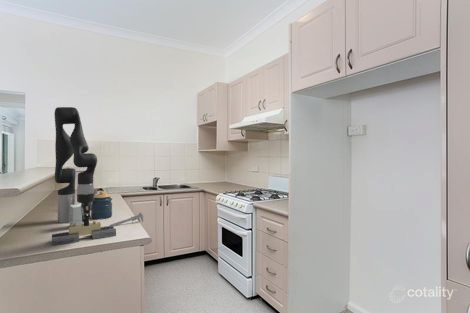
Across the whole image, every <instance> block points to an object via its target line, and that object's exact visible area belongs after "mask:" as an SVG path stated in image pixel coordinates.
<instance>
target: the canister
mask: <svg viewBox="0 0 470 313" xmlns="http://www.w3.org/2000/svg"><path fill="white" fill-rule="evenodd" d="M112 200H113V198H112V195H111V194H109V193H106V192H103V191H99V193H97V194H95V195H94V201H92V204H91V210H90V218H91V219H92V220H104V219H109V218H112V216H113V202H112Z"/></svg>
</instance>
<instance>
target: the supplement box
mask: <svg viewBox="0 0 470 313" xmlns="http://www.w3.org/2000/svg"><path fill="white" fill-rule="evenodd" d="M73 224H77V225H80V224H84V222H82V214H81V203H80V204H79V203H78V204H75V205H70V222H69V226H72V225H73Z"/></svg>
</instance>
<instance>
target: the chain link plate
mask: <svg viewBox="0 0 470 313" xmlns="http://www.w3.org/2000/svg"><path fill="white" fill-rule="evenodd" d="M101 224H102V223H101V222H100V221H98V220H93V221H92V222H89V226H84V224H80V225H77V224H73V225H72V226H70V225H68V232H69V235H73V234H79V237H82V236H89V235H91V234H92V232H93V231H100V230H101V227H102V226H101Z"/></svg>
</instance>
